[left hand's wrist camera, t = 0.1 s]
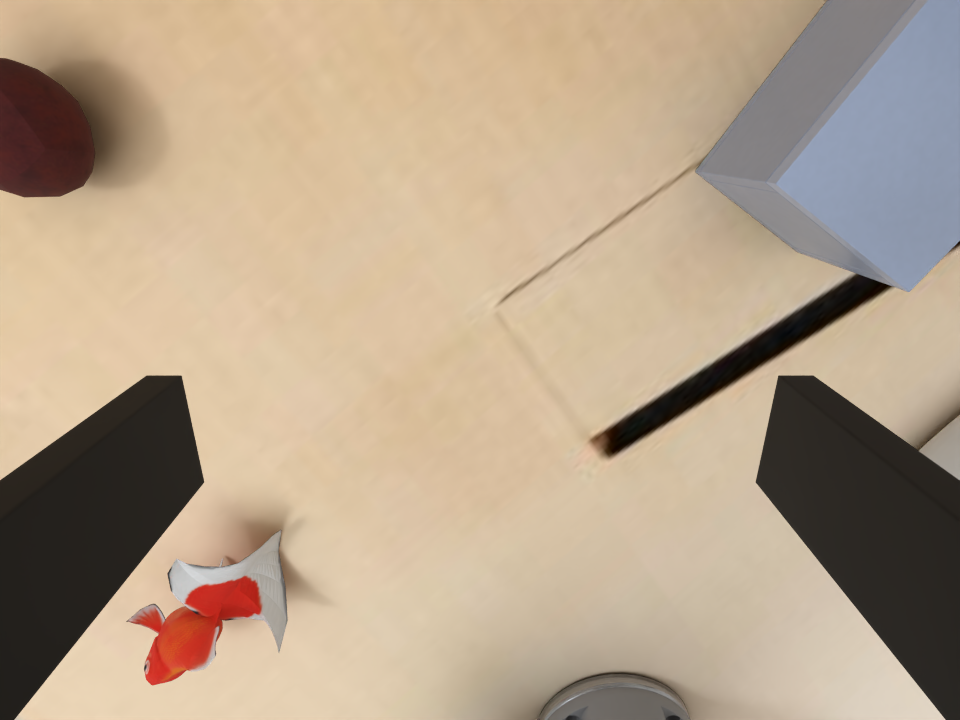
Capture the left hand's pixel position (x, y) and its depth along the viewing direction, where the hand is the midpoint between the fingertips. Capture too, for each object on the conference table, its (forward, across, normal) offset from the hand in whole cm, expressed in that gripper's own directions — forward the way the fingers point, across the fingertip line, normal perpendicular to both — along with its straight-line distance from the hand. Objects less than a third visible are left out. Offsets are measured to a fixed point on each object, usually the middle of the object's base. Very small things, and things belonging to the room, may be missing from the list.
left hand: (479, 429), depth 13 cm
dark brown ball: (+28, +27, -6) cm, 39 cm away
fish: (+28, +22, +29) cm, 46 cm away
